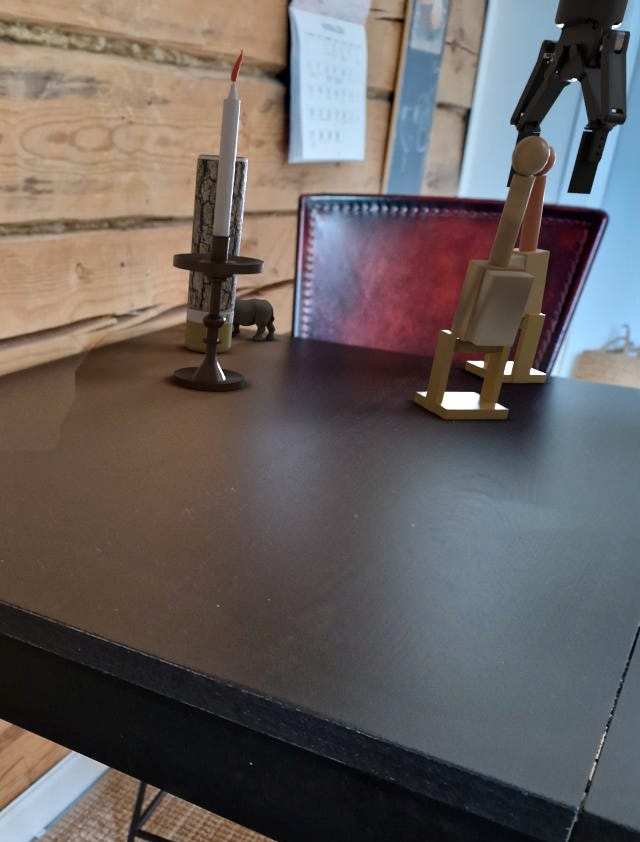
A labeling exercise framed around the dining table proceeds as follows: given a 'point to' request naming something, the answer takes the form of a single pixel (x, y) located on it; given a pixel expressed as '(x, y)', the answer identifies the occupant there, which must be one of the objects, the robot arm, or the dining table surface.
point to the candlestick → (218, 258)
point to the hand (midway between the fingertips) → (545, 191)
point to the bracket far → (519, 355)
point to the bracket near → (464, 402)
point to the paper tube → (202, 244)
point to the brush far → (534, 241)
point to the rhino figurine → (254, 317)
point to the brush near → (500, 267)
